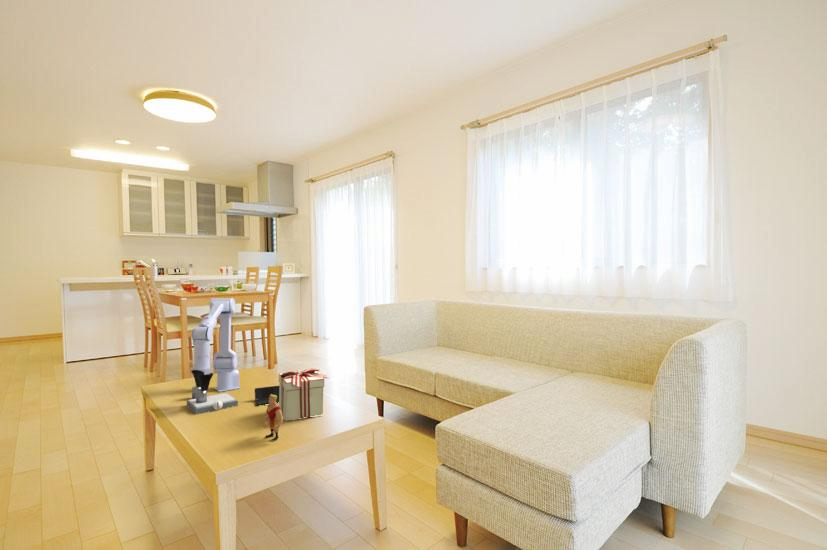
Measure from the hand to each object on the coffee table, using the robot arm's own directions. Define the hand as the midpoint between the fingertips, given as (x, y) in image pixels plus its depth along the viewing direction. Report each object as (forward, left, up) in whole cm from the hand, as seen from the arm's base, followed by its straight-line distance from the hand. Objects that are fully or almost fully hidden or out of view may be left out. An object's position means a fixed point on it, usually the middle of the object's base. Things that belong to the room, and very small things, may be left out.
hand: (202, 388), depth 167 cm
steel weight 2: (0, 0, -5) cm, 5 cm away
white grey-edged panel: (-4, 0, -8) cm, 9 cm away
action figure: (-9, +49, -8) cm, 51 cm away
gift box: (-28, +34, -8) cm, 45 cm away
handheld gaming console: (-24, +10, -8) cm, 27 cm away
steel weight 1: (-2, -15, -8) cm, 17 cm away
